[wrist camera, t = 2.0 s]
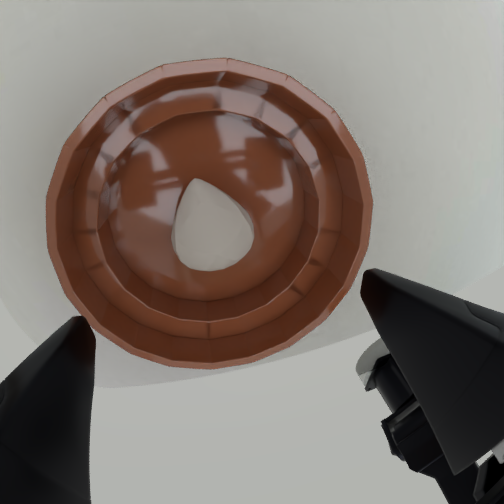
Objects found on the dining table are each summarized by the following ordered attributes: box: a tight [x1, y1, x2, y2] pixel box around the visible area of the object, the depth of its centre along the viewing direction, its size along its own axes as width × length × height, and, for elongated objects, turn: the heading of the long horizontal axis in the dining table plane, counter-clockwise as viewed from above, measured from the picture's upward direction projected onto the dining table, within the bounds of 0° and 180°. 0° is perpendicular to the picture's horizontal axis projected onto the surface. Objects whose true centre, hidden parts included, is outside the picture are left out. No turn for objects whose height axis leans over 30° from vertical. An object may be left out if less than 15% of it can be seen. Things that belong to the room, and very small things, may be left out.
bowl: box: [46, 58, 373, 370], centre depth 13 cm, size 15×15×4 cm
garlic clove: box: [171, 178, 254, 271], centre depth 14 cm, size 4×5×2 cm
